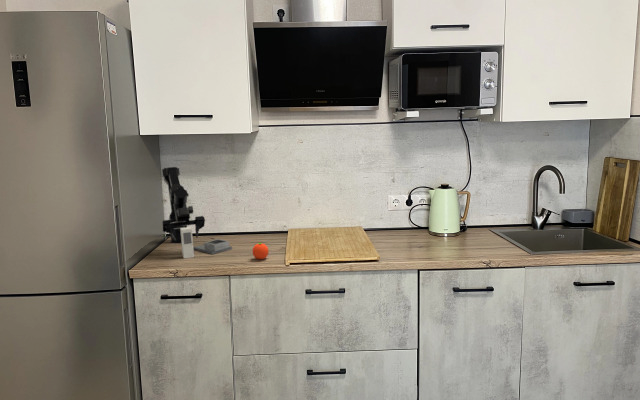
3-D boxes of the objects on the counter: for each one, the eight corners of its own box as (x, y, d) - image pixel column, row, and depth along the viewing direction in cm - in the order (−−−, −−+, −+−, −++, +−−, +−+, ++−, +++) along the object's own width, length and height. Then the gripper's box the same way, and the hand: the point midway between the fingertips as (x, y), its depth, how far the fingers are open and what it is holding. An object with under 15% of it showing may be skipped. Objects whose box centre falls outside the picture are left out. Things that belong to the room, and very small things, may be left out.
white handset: (182, 256, 223) (180, 228, 221) (192, 254, 224) (190, 226, 222) (184, 258, 219) (181, 230, 217) (194, 257, 220) (191, 228, 218)
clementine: (251, 257, 215) (250, 241, 214) (266, 255, 217) (265, 239, 216) (254, 262, 208) (253, 245, 207) (270, 260, 210) (269, 243, 209)
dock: (192, 249, 234) (191, 240, 233) (211, 244, 242) (211, 236, 241) (212, 254, 223) (211, 245, 223) (232, 249, 231) (231, 240, 231)
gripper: (160, 202, 219) (165, 231, 211) (202, 198, 227) (208, 226, 218) (160, 217, 228) (165, 245, 219) (201, 213, 235) (207, 239, 226)
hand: (186, 238), depth 221 cm, fingers open, 9 cm apart
